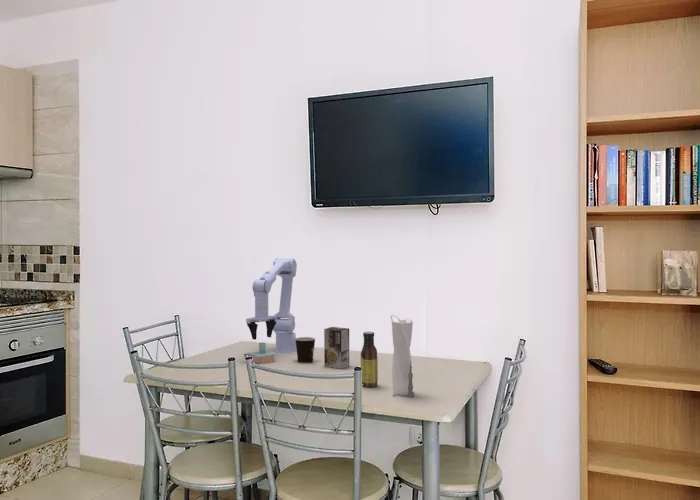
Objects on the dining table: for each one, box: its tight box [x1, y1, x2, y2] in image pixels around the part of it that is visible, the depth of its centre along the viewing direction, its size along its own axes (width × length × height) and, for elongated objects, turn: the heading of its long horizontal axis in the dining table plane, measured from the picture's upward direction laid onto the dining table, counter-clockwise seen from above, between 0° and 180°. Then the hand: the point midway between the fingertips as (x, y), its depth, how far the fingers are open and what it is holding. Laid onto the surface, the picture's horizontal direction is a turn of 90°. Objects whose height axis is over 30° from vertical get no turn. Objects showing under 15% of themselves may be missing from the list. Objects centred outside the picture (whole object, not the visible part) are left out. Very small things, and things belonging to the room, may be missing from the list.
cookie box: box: [323, 326, 350, 370], centre depth 246 cm, size 9×6×16 cm
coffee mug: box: [295, 336, 316, 364], centre depth 256 cm, size 12×9×10 cm
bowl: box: [252, 356, 275, 365], centre depth 254 cm, size 9×9×3 cm
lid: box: [248, 342, 277, 358], centre depth 255 cm, size 9×9×5 cm
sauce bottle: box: [360, 330, 379, 388], centre depth 216 cm, size 7×6×20 cm
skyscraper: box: [390, 314, 415, 398], centre depth 205 cm, size 8×8×28 cm
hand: (261, 338), depth 255 cm, fingers open, 7 cm apart
